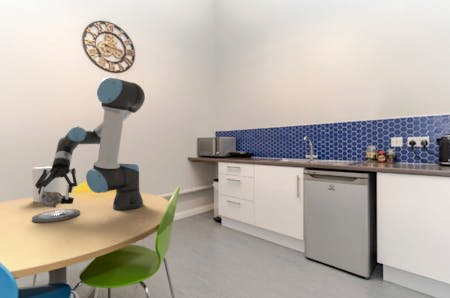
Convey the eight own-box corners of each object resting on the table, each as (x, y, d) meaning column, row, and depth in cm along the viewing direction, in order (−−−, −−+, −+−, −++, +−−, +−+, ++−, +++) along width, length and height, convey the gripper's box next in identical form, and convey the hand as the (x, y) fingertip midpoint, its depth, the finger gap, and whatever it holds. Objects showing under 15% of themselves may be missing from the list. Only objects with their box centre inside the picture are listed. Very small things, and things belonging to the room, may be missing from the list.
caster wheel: (74, 207, 129) (65, 209, 119) (49, 203, 127) (39, 205, 117) (77, 193, 130) (69, 194, 120) (53, 190, 128) (43, 191, 118)
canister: (65, 197, 164) (64, 166, 164) (46, 202, 151) (44, 168, 150) (48, 196, 167) (46, 166, 167) (27, 201, 154) (26, 168, 154)
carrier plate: (88, 211, 130) (88, 208, 130) (60, 223, 111) (60, 220, 111) (54, 210, 132) (54, 208, 132) (20, 222, 114) (20, 219, 114)
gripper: (87, 165, 139) (82, 201, 125) (38, 167, 132) (27, 205, 118) (85, 156, 134) (79, 192, 120) (34, 158, 127) (21, 196, 113)
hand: (53, 199), depth 119 cm, fingers closed on caster wheel, 10 cm apart
